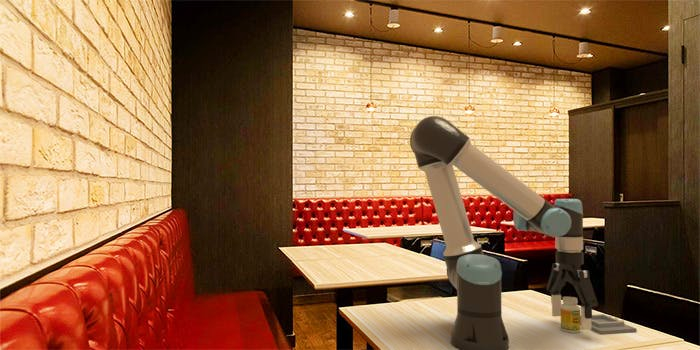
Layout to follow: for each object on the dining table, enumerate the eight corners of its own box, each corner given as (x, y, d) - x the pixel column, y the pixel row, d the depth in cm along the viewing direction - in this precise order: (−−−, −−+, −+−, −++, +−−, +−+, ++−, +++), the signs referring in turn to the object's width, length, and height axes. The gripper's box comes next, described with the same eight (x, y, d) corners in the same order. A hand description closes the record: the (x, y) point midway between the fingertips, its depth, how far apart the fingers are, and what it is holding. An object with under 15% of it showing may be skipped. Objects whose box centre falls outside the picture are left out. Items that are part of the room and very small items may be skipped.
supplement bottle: (567, 326, 139) (566, 295, 139) (584, 331, 135) (583, 298, 135) (556, 329, 136) (556, 297, 136) (574, 334, 132) (573, 301, 132)
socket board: (600, 334, 131) (600, 326, 131) (569, 320, 145) (568, 313, 145) (636, 332, 134) (636, 324, 134) (602, 318, 147) (602, 311, 147)
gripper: (611, 256, 124) (612, 334, 124) (554, 244, 149) (556, 310, 148) (586, 257, 123) (588, 336, 122) (534, 245, 147) (535, 311, 147)
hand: (570, 322), depth 135 cm, fingers open, 13 cm apart
